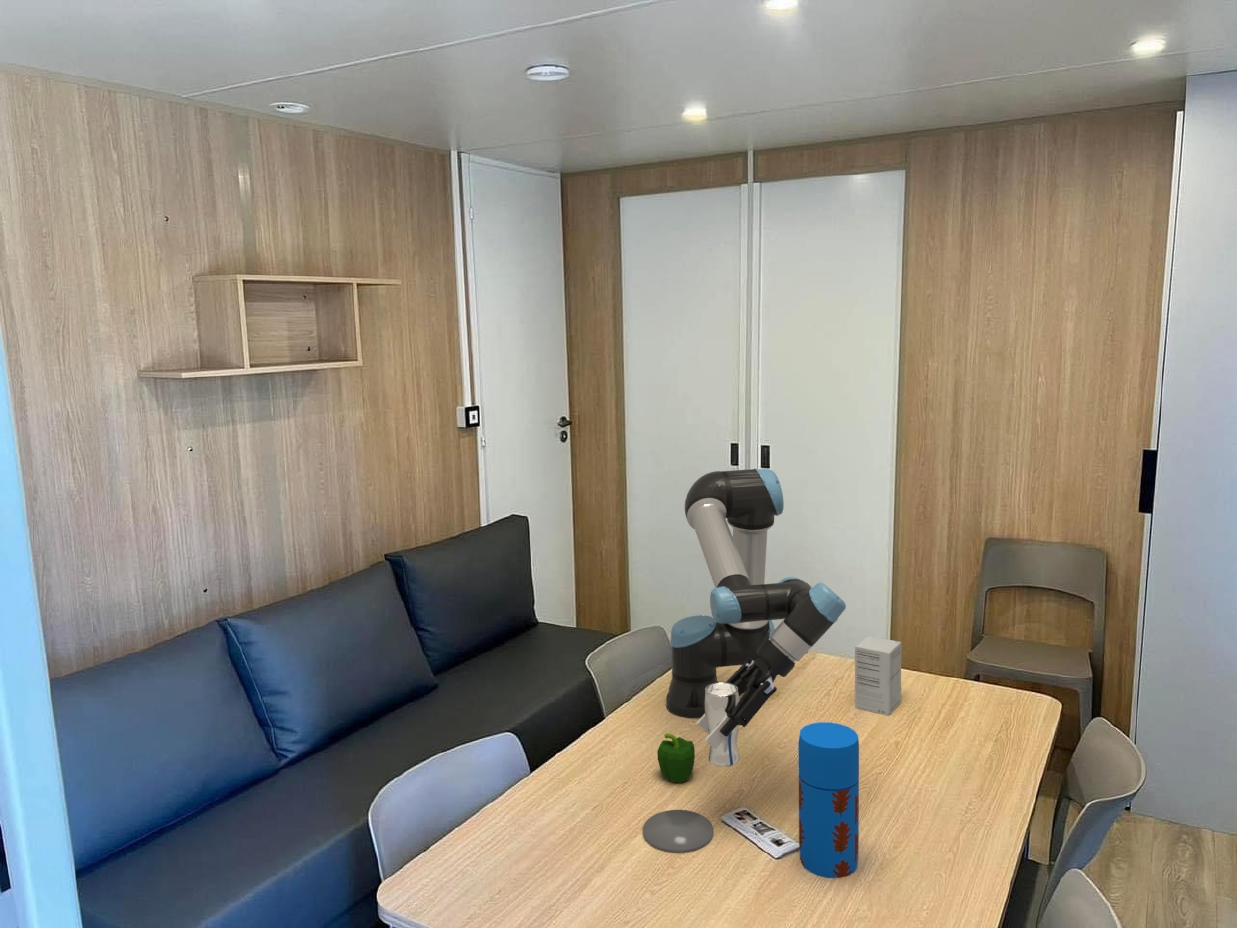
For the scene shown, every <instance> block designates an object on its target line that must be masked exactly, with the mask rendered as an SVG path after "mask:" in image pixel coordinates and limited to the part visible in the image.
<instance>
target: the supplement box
mask: <svg viewBox="0 0 1237 928" xmlns="http://www.w3.org/2000/svg"><path fill="white" fill-rule="evenodd" d="M901 702H902V641H899V640H898V641H897V640H892V639H885V638H881V637H876V636H871V635H867V636H866V637H865V638H864V639H863V640H862V641H860V642H859V643H858V644H857V645H856V646H854V708H855V709H858V710H862V711H863V710H864V711H866V710H867V712H870V713H871V712H872V713H876V714H880V715H884V716H888V717H889V716H890V715H891V714H892V713H893V712H894V711H895V710H896V709H897V707H898V706H899V705H900V704H901Z"/></svg>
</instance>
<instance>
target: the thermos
mask: <svg viewBox="0 0 1237 928" xmlns="http://www.w3.org/2000/svg"><path fill="white" fill-rule="evenodd" d="M797 744H798V746H797V747H798V749H797V750H798V753H797V754H798V755H797V757H798V845H799V860H801V861H800V863H801V864H802V866H803V867H804V869H806V870H807V871H808V872H809V871H810V873H812V874H814V875H815V876H818V877H824V878H828V879H840V878H844V877H848V876H850V875H852V874H853V873H855V871H856V870H857V869H858V863H859V844H860V842H859V839H860V838H859V837H860V836H859V835H860V834H859V833H860V832H859V831H860V830H859V827H860V826H859V825H860V821H859V817H860V815H859V813H860V809H859V808H860V799H859V798H860V795H859V794H860V741H859V734H858V733H857V732H856V731H855V730H854V729H852V728H851V727H850V726H847V725H844V724H841V723H836V722H827V721H826V722H825V721H824V722H823V721H822V722H821V721H820V722H815V723H814V722H813V723H809V724H807V725H804V726H802V728H801V729H800V730H799V735H798V743H797Z"/></svg>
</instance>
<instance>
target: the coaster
mask: <svg viewBox="0 0 1237 928" xmlns="http://www.w3.org/2000/svg"><path fill="white" fill-rule="evenodd" d="M642 835H643V839H644V838H645V839H644V840H645V842H646V841H647V842H648V843H649V844H650V846H651V847H652V846H653V847H652V848H654V849H656V850H659V851H662V852H665V853H673V854H685V853H691V852H695V851H698V850H700V849H703V848H705V847H706V846H707V845H708V844H710V843H711V841H712V839H713V838H714V826H713V824H712V822H711V821H710V819H708V817H706V816H704V815H703V814H701V813H699V812H695V811H692V810H686V809H669V810H664V811H661V812H657V813H655V814H653V815H652V816H649V818H647V820H645V822H644V823H643V825H642ZM647 842H646V843H647ZM648 843H647V844H648ZM649 844H648V845H649Z"/></svg>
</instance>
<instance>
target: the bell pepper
mask: <svg viewBox="0 0 1237 928" xmlns="http://www.w3.org/2000/svg"><path fill="white" fill-rule="evenodd" d="M664 738H665V739H666V740H664V739H662V740H661V743H660V744H659V747H658V749H657V753H656V754H657V762H658V766H659V769H660V773H661V775H662V777H664V778H665V779H666V780H671V782H673V783H684V782H687V781H688V780H689V779H690V777H691V776H692V774H693V770H694V764H695V758H696V757H695V745H694V742H693V741H692V740H686V739H684V738H683V737H680V736H679V737H676V736H675V735H674V734H672V733H665V734H664ZM667 739H671V740H667Z"/></svg>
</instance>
